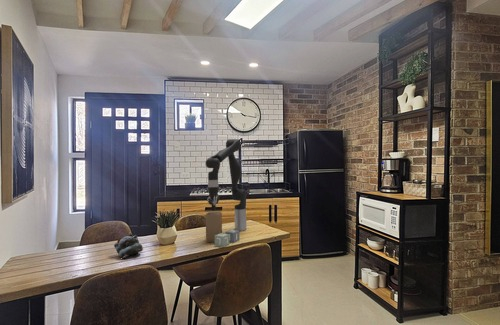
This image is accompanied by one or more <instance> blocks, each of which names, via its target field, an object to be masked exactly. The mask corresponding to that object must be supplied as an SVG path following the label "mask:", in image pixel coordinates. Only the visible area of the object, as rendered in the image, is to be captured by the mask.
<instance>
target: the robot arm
mask: <svg viewBox="0 0 500 325" xmlns="http://www.w3.org/2000/svg"><path fill="white" fill-rule="evenodd" d="M241 148H242V143H241V140H239V139H237V138H234V139H233V138H230V139H227V140H226V141H225V148H223V149H221V150H219V151H218V152H217V153H215V154H214V155H212V156H210V157H208V158H207V159H206V160H205V167H206V168H207V169H212V170H211V171H209V172H208V174H207V177H208V178H207V193H208V197H207V198H206V201H207V203H208V204H209V205H211V211H212V212H215V211H216V209H217V207H216V206H217V205H218V203H219V202H220V200H221V199H220V198H221V196H219V191H220V190H219V188H220V186H219V184H220V183H219V172H220V167H221V163H222V162H224V161H225V160H226V159H228V164H229V173H230V181H231V195H232V196H231V197H232V200H233V201H239V203H238V204H235V205H234V230H237V231H239V232H240V231H241V232H242V231H247V226H248V225H247V214H246V212H247V211H246V210H247V209H246V208H247V207H246V206H247V191H246V190H245V189H239V188H238V184H239V180H240V179H241V176H242V174H243V173H242V172H243V171H242V166H241V164H240V162H239V161H238V159H237V158H236V155H235V152H237V151H239V150H240V149H241Z"/></svg>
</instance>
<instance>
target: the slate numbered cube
mask: <svg viewBox="0 0 500 325" xmlns="http://www.w3.org/2000/svg"><path fill="white" fill-rule="evenodd" d="M225 234H229V243H233V244H235V243H236V242H240V231H237V230H235V229H229V230H227V231H225Z"/></svg>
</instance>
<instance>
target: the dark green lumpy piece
mask: <svg viewBox="0 0 500 325" xmlns="http://www.w3.org/2000/svg"><path fill="white" fill-rule="evenodd" d="M113 246H114V249H115V250H116V254H117V255H118V259H119V258H122V259H121V260H124V259H125V258H127V257H130V256H132V255H135V254H139V253H141V252H143V250H144V247H143V245H142V244H141V243H140V241H139V238H138V235H136V234H135V235H133V234H128V235H127V236H124V237H122V238H118V239H117V242H115V243H114V244H113ZM123 258H124V259H123Z"/></svg>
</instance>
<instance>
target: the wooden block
mask: <svg viewBox="0 0 500 325" xmlns="http://www.w3.org/2000/svg"><path fill="white" fill-rule="evenodd" d="M222 216H223V214H222V212H221V211H209V212H207V213H206V214H205V241H206V243H215V235H217V234H220V233H223V217H222Z"/></svg>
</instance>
